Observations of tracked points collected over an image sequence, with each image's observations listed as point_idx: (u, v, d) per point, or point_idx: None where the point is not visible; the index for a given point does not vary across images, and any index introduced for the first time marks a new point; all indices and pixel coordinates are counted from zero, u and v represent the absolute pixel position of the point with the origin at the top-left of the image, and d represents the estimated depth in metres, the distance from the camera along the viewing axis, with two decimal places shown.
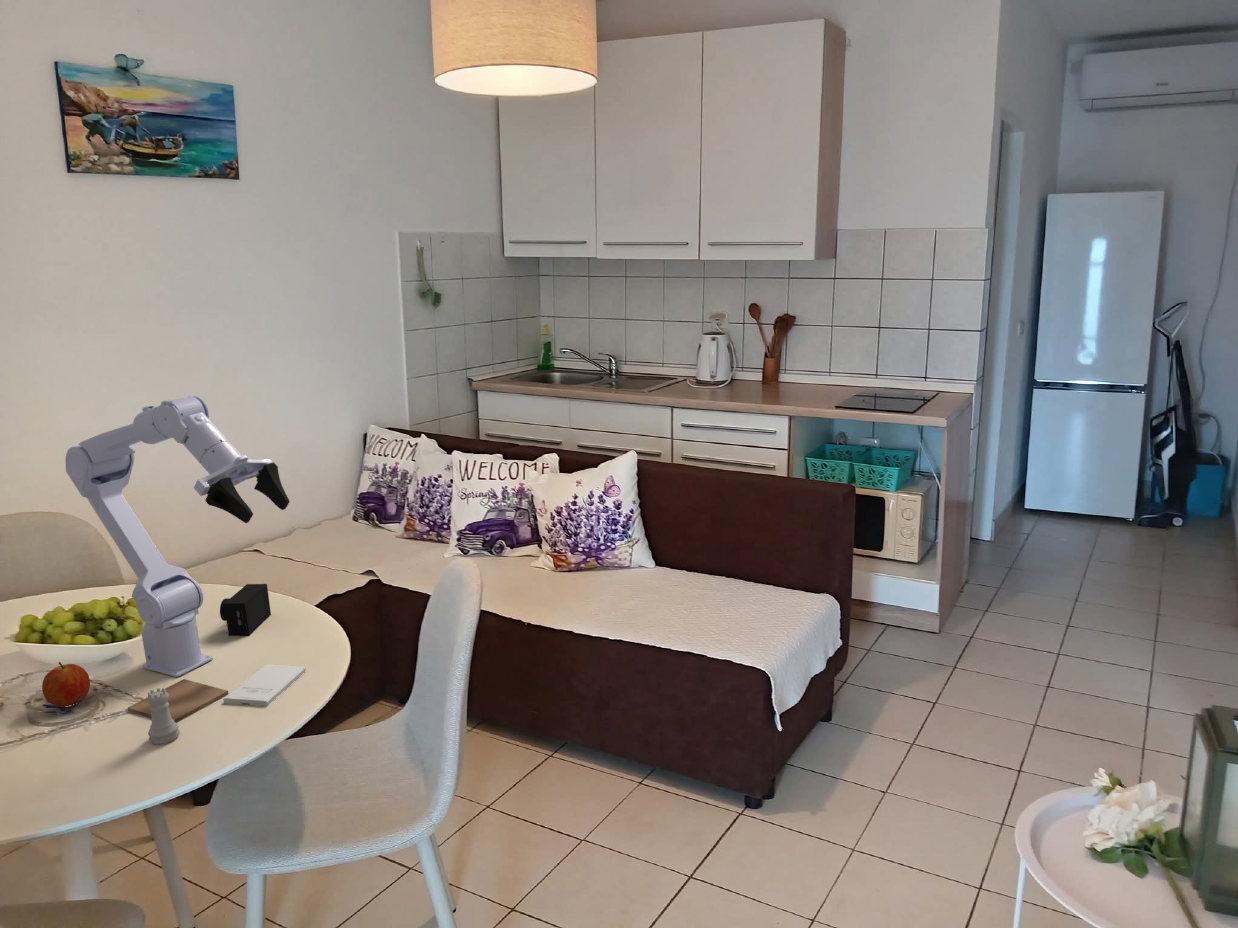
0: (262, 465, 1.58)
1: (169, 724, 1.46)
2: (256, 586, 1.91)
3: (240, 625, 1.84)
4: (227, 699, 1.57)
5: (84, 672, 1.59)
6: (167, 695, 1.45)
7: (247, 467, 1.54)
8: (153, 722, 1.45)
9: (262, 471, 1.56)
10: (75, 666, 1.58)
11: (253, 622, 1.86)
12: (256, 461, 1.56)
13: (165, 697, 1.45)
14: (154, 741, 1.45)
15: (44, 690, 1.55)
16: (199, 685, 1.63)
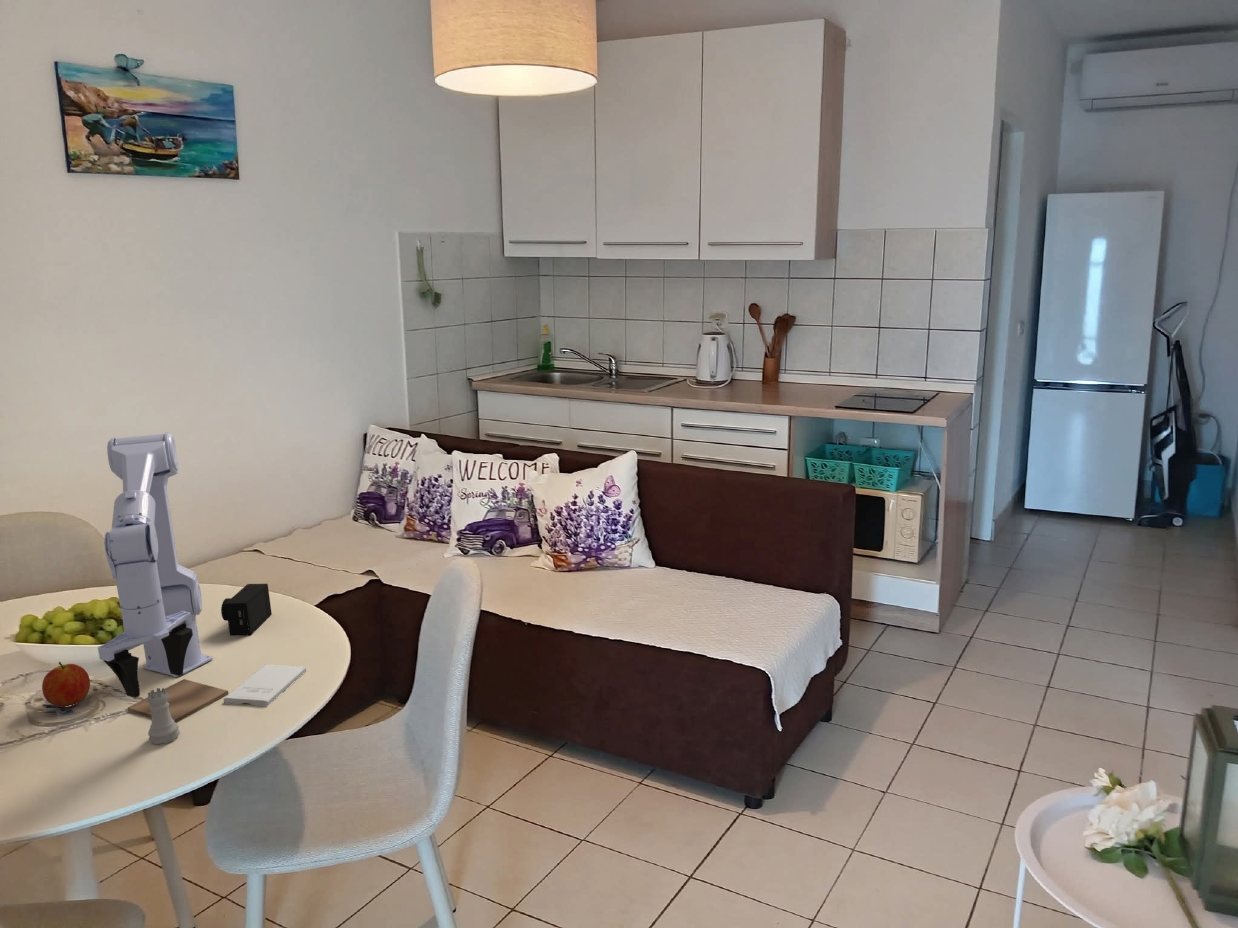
0: None
1: (169, 724, 1.46)
2: (257, 586, 1.91)
3: (242, 625, 1.84)
4: (227, 699, 1.57)
5: (84, 672, 1.59)
6: (167, 695, 1.45)
7: None
8: (153, 722, 1.45)
9: (175, 635, 1.46)
10: (75, 666, 1.58)
11: (255, 621, 1.86)
12: (175, 624, 1.45)
13: (165, 697, 1.45)
14: (154, 741, 1.45)
15: (44, 690, 1.55)
16: (199, 685, 1.63)
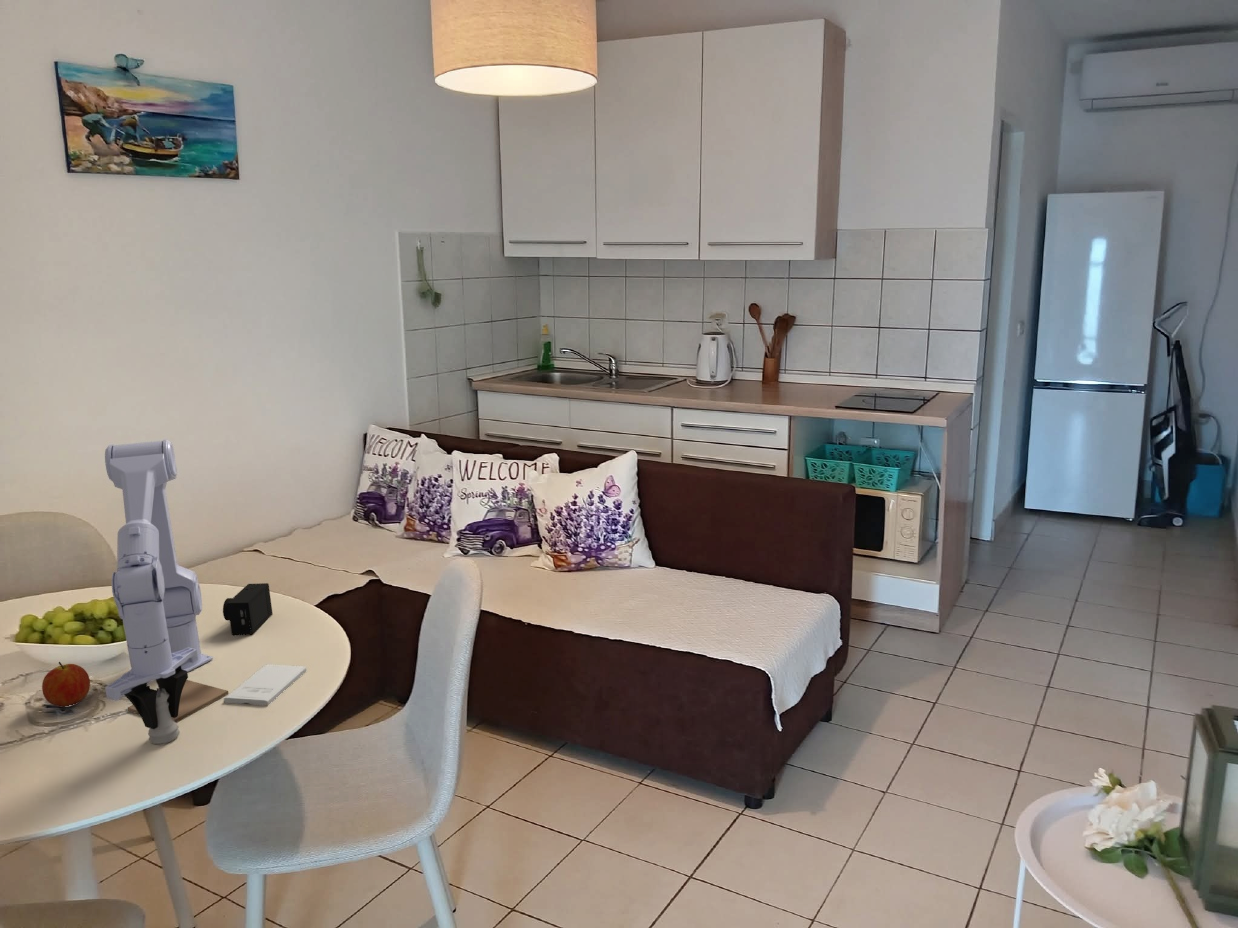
0: None
1: (169, 724, 1.46)
2: (258, 586, 1.91)
3: (243, 624, 1.84)
4: (228, 698, 1.57)
5: (84, 672, 1.59)
6: (167, 695, 1.45)
7: None
8: None
9: (170, 677, 1.46)
10: (75, 666, 1.58)
11: (256, 621, 1.86)
12: (181, 662, 1.47)
13: (165, 697, 1.45)
14: (154, 741, 1.45)
15: (44, 690, 1.55)
16: (199, 685, 1.63)
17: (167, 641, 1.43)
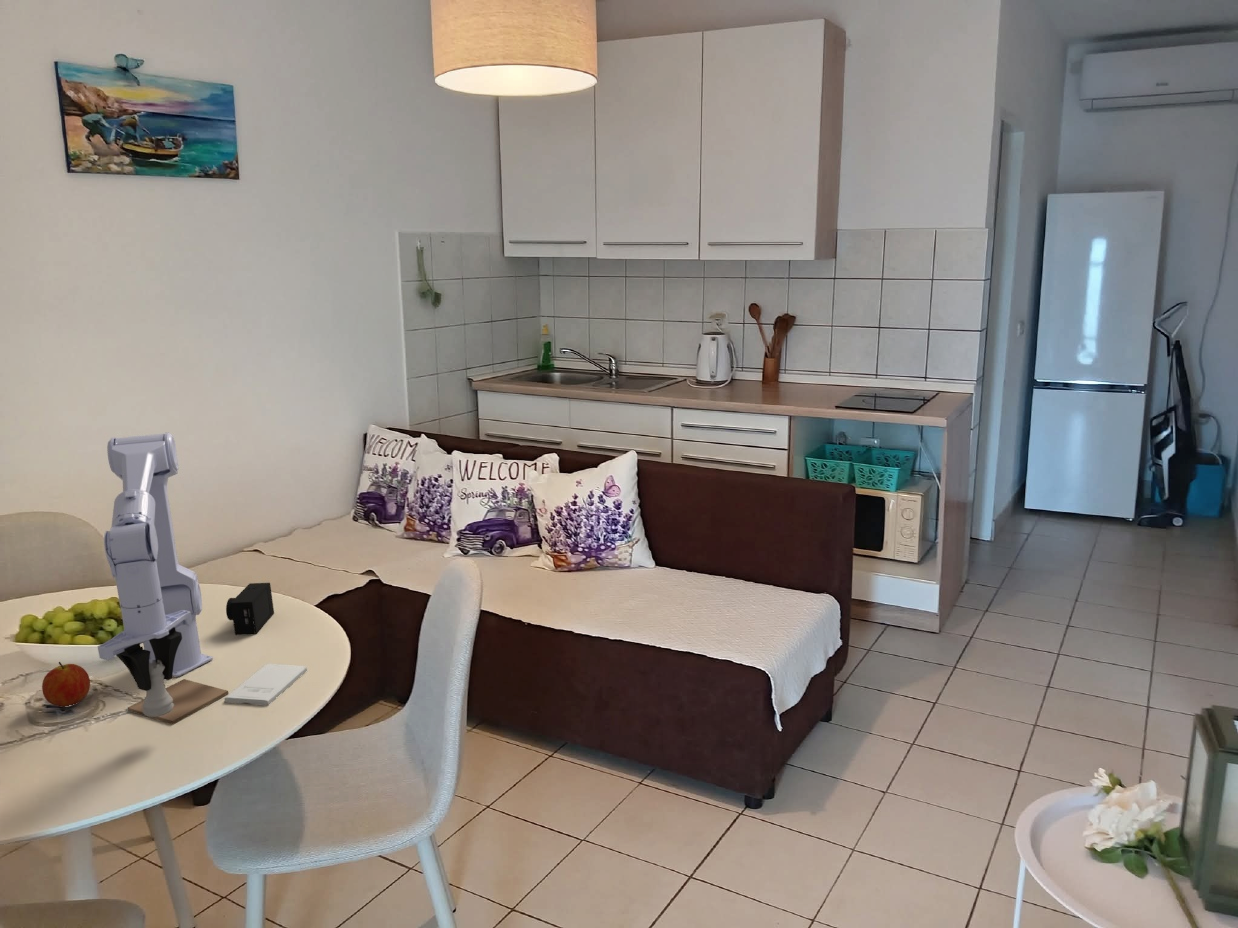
0: None
1: (164, 696, 1.45)
2: (260, 585, 1.91)
3: (247, 624, 1.84)
4: (228, 698, 1.58)
5: (84, 672, 1.59)
6: (163, 667, 1.44)
7: None
8: (148, 694, 1.44)
9: (164, 639, 1.44)
10: (75, 666, 1.58)
11: (260, 620, 1.87)
12: (175, 623, 1.45)
13: (161, 669, 1.44)
14: (148, 713, 1.44)
15: (44, 690, 1.55)
16: (199, 685, 1.63)
17: (160, 601, 1.42)
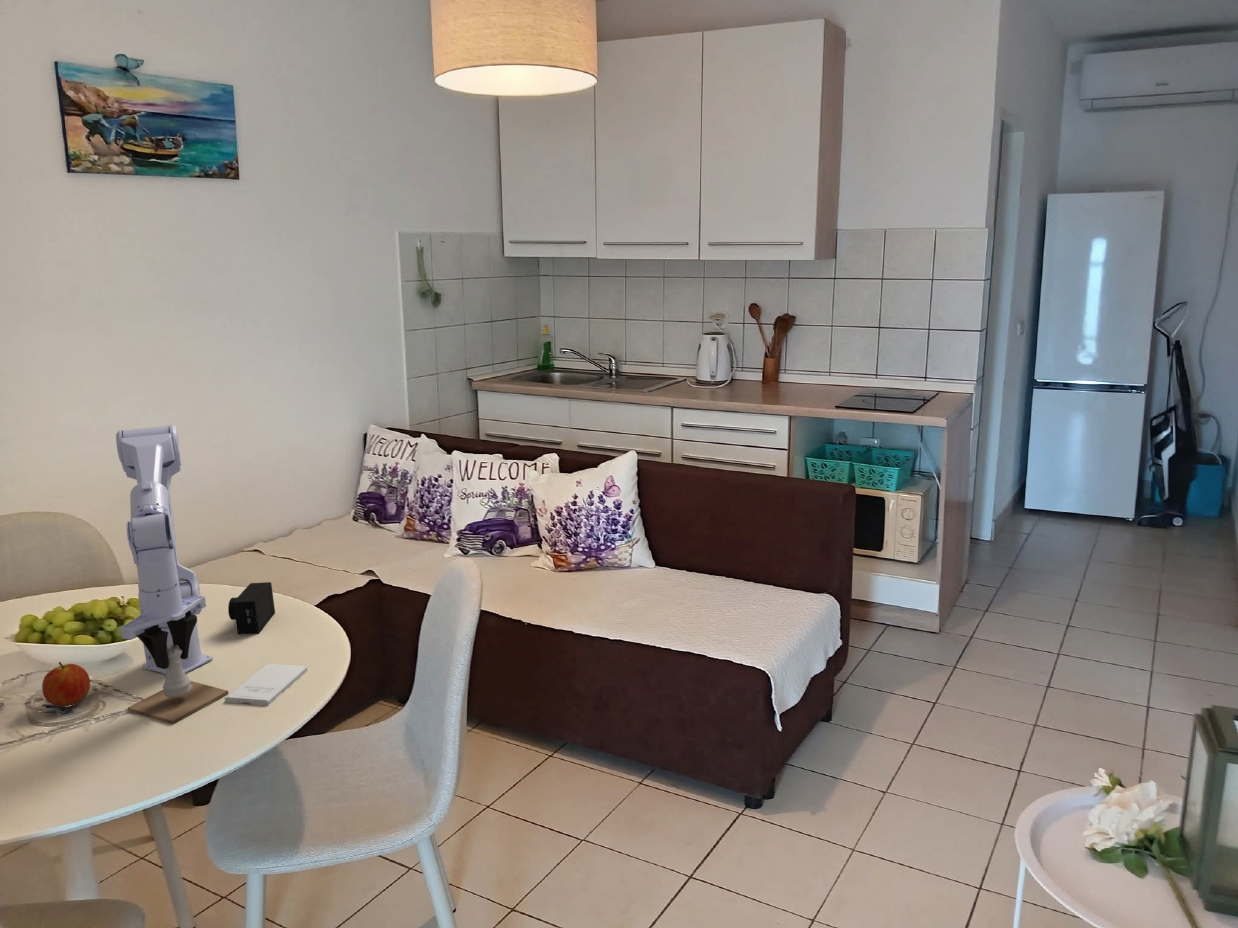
0: None
1: (182, 678, 1.57)
2: (261, 585, 1.92)
3: (249, 623, 1.84)
4: (228, 698, 1.58)
5: (84, 672, 1.59)
6: (180, 651, 1.56)
7: None
8: (167, 676, 1.56)
9: (181, 621, 1.56)
10: (75, 666, 1.58)
11: (262, 620, 1.87)
12: (191, 607, 1.57)
13: (179, 653, 1.56)
14: (168, 694, 1.56)
15: (44, 690, 1.55)
16: (199, 685, 1.63)
17: (177, 586, 1.53)
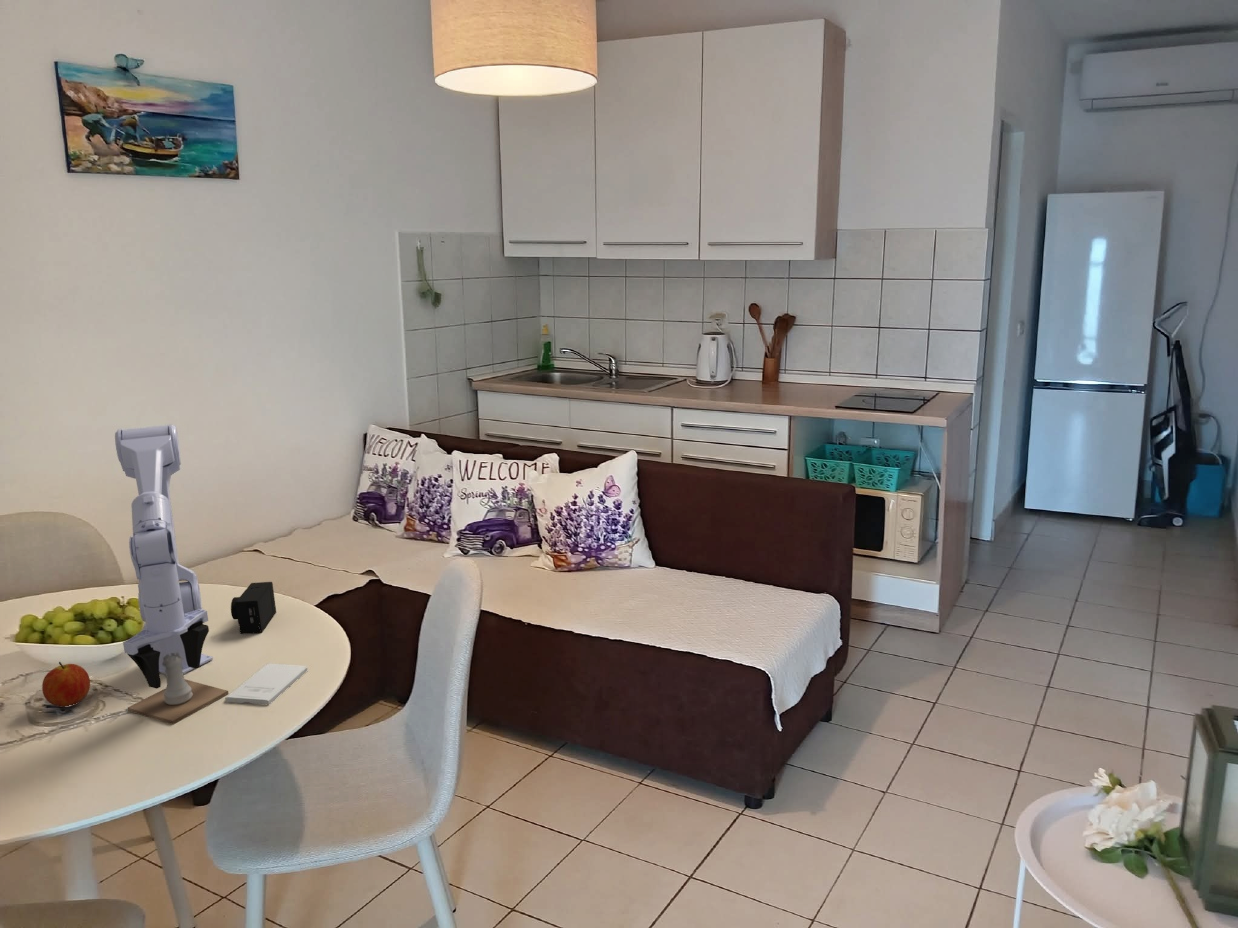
0: None
1: (183, 686, 1.57)
2: (262, 584, 1.92)
3: (252, 623, 1.85)
4: (229, 698, 1.58)
5: (84, 672, 1.59)
6: (181, 659, 1.56)
7: None
8: (168, 684, 1.56)
9: (193, 631, 1.58)
10: (75, 666, 1.58)
11: (264, 619, 1.87)
12: (193, 621, 1.57)
13: (179, 661, 1.56)
14: (169, 702, 1.56)
15: (44, 690, 1.55)
16: (199, 685, 1.63)
17: (180, 601, 1.54)
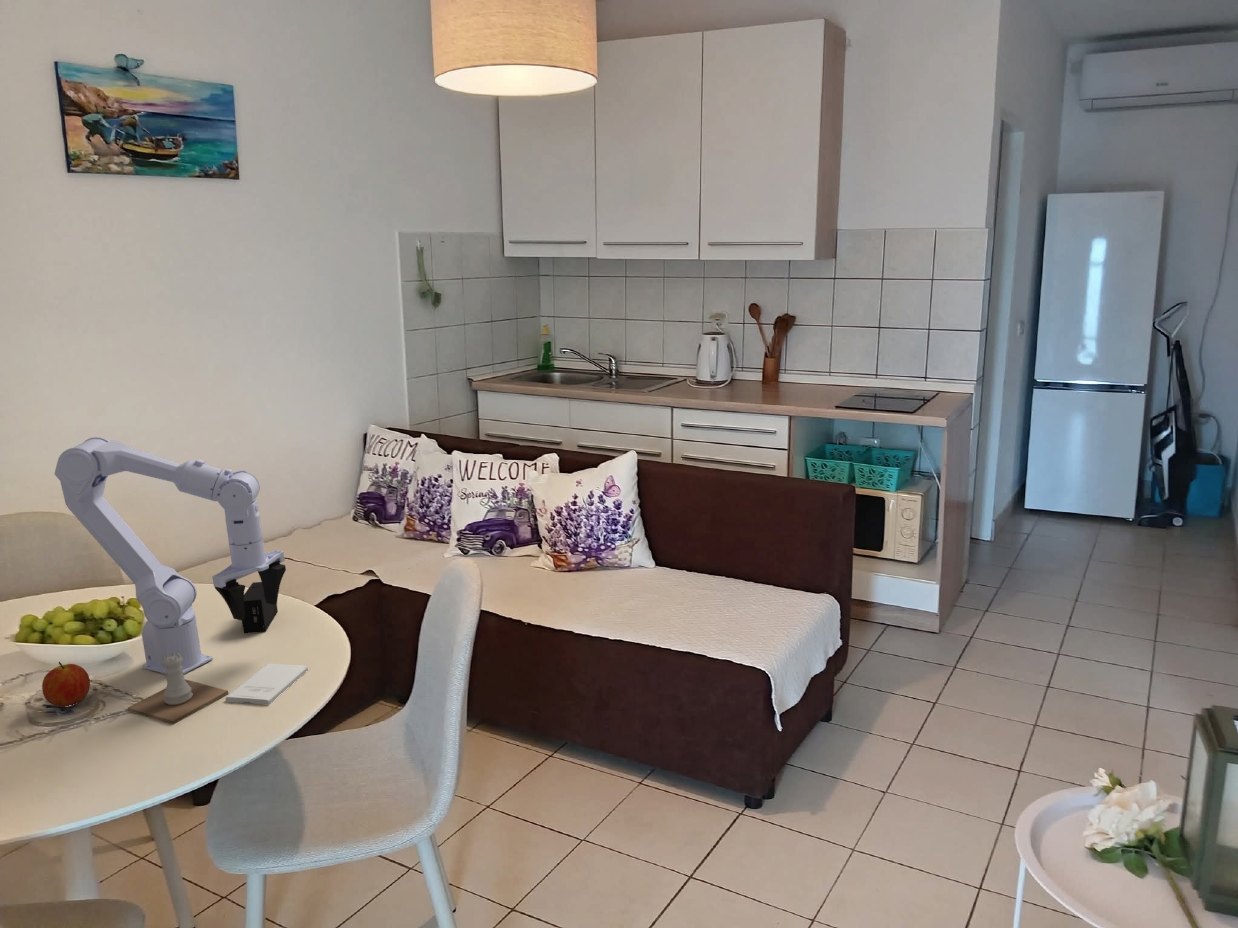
0: None
1: (183, 686, 1.57)
2: None
3: (256, 622, 1.85)
4: (229, 698, 1.58)
5: (84, 672, 1.59)
6: (181, 659, 1.56)
7: None
8: (168, 684, 1.56)
9: (272, 569, 1.72)
10: (75, 666, 1.58)
11: (267, 618, 1.88)
12: (272, 560, 1.72)
13: (179, 661, 1.56)
14: (169, 702, 1.56)
15: (44, 690, 1.55)
16: (199, 685, 1.63)
17: (262, 541, 1.68)
